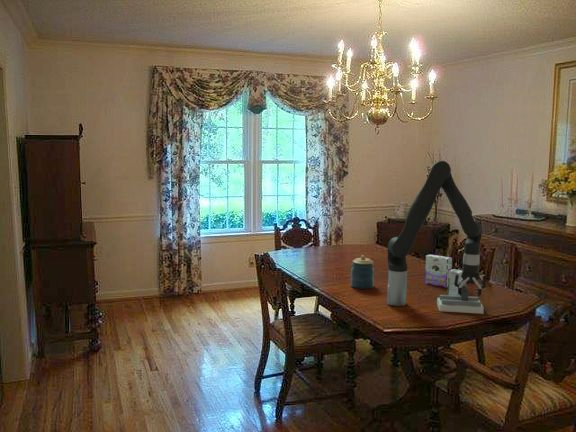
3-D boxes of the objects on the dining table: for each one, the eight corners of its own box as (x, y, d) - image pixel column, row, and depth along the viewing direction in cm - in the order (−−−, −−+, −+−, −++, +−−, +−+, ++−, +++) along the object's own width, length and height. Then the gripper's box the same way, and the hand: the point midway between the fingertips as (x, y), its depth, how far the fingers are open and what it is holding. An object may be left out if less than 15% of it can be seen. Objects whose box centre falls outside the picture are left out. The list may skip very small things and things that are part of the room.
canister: (357, 281, 303) (358, 251, 300) (377, 285, 295) (378, 254, 293) (346, 286, 292) (347, 255, 290) (367, 290, 285) (368, 258, 282)
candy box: (451, 286, 296) (452, 257, 293) (446, 288, 291) (447, 259, 289) (428, 281, 305) (430, 253, 303) (423, 283, 301) (425, 255, 298)
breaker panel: (439, 311, 251) (440, 300, 250) (436, 303, 263) (437, 293, 262) (483, 313, 248) (484, 303, 247) (478, 306, 259) (479, 296, 259)
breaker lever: (461, 303, 252) (462, 286, 251) (459, 300, 257) (460, 284, 256) (467, 303, 252) (468, 287, 251) (466, 300, 257) (466, 284, 256)
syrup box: (451, 295, 277) (452, 268, 275) (462, 297, 273) (463, 270, 271) (446, 298, 272) (448, 270, 270) (457, 300, 269) (459, 272, 267)
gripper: (485, 261, 254) (483, 294, 256) (454, 260, 256) (452, 292, 259) (488, 265, 247) (486, 298, 249) (456, 263, 249) (454, 296, 251)
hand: (469, 295), depth 254 cm, fingers open, 8 cm apart
